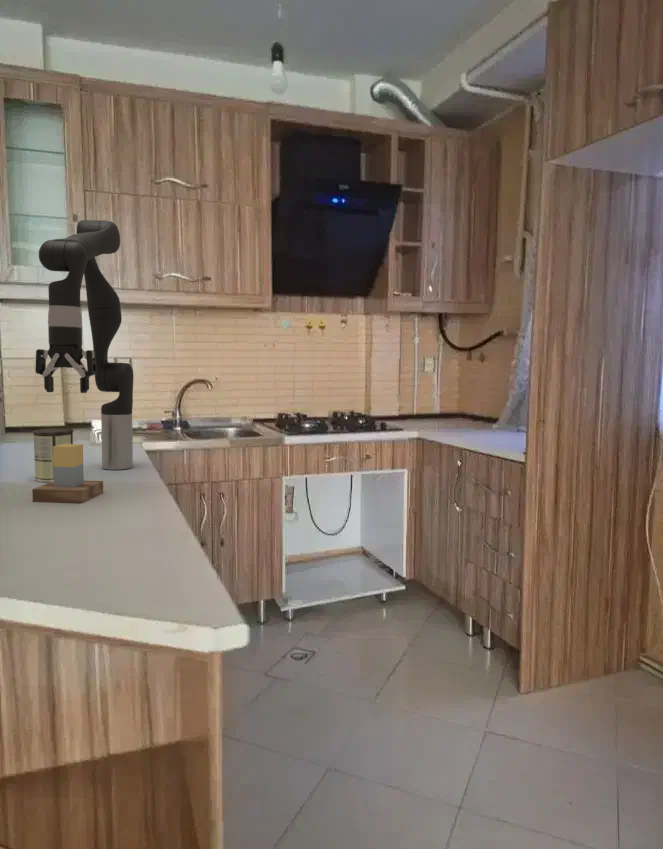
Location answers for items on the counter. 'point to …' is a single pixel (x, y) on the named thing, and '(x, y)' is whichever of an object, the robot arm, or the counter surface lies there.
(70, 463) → the ochre block
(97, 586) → the counter surface
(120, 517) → the counter surface
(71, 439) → the coffee can
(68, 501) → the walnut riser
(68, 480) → the slate block
